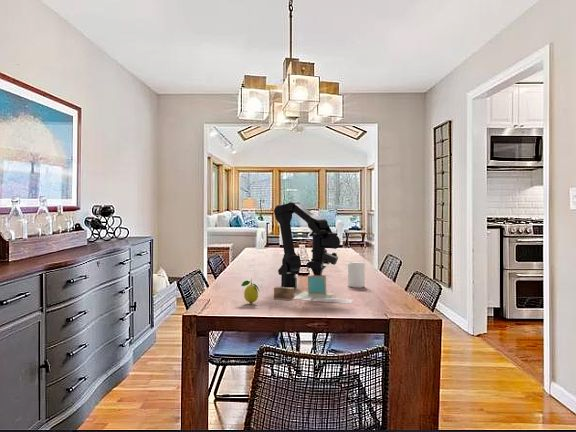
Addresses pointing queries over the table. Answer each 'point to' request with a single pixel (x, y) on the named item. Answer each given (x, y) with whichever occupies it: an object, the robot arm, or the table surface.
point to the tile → (317, 284)
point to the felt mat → (315, 294)
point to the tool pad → (333, 300)
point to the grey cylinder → (356, 274)
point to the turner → (288, 294)
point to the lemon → (250, 292)
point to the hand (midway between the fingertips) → (318, 282)
